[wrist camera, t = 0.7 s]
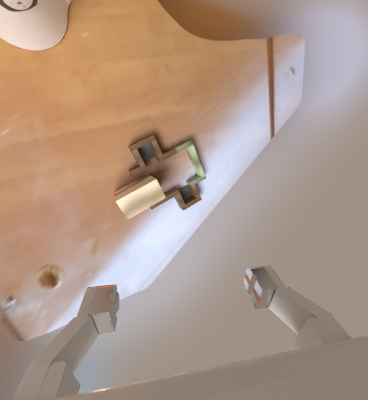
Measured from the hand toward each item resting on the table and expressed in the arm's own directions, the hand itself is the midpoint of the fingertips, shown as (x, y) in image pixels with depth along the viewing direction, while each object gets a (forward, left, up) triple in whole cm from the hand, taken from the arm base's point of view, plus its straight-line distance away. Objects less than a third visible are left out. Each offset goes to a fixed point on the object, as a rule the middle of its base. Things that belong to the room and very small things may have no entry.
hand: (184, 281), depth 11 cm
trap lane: (+4, +11, -40) cm, 42 cm away
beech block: (+4, +1, -40) cm, 40 cm away
